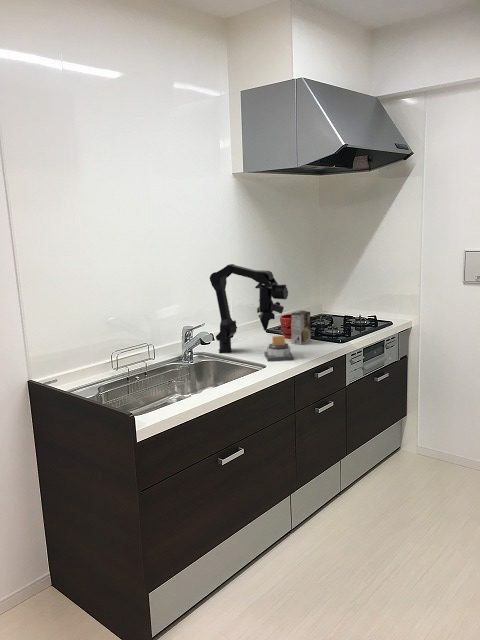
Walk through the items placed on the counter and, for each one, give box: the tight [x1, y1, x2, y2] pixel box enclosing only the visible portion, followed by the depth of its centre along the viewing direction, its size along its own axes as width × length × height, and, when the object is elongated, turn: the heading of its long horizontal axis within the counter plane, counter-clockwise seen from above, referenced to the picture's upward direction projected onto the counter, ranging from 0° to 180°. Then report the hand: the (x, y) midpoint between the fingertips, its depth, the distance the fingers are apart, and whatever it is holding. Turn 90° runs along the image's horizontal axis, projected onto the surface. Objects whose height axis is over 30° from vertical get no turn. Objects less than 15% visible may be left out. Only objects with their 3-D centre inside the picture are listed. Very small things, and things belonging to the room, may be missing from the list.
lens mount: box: [263, 344, 295, 362], centre depth 253 cm, size 12×12×5 cm
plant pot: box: [279, 313, 292, 340], centre depth 294 cm, size 13×13×12 cm
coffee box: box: [290, 310, 312, 346], centre depth 280 cm, size 9×6×16 cm
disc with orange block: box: [268, 335, 289, 349], centre depth 252 cm, size 9×9×7 cm
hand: (265, 330), depth 256 cm, fingers closed
